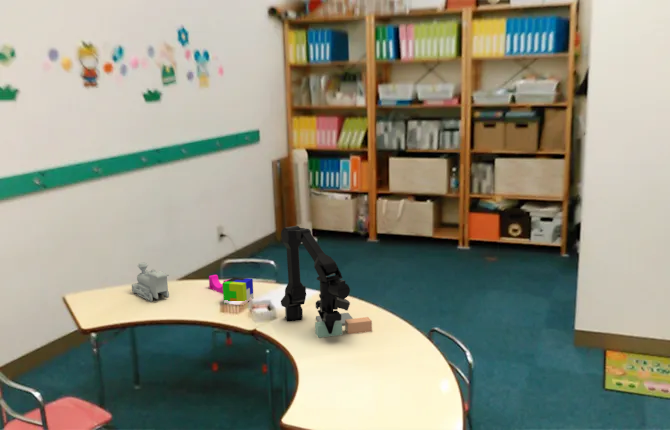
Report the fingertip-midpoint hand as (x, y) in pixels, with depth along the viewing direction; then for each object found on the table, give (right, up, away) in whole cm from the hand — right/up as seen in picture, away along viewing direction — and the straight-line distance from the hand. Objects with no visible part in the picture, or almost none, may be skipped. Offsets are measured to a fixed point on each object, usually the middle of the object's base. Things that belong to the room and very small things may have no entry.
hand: (328, 331), depth 244 cm
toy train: (-85, +6, +55) cm, 101 cm away
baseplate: (+3, +2, +14) cm, 14 cm away
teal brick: (0, -1, 0) cm, 1 cm away
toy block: (-51, +8, +59) cm, 78 cm away
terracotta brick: (+12, 0, +3) cm, 12 cm away
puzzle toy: (-42, +5, +43) cm, 60 cm away
